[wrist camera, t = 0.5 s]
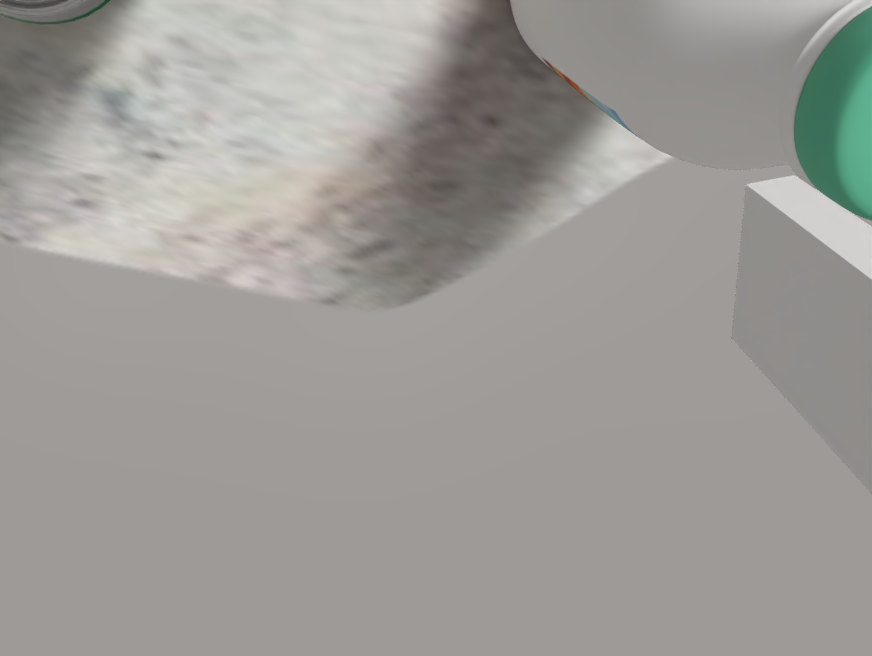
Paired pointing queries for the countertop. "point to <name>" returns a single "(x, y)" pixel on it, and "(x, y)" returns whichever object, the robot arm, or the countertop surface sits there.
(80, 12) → the soda can
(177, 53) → the countertop surface
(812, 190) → the robot arm
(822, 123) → the milk bottle
